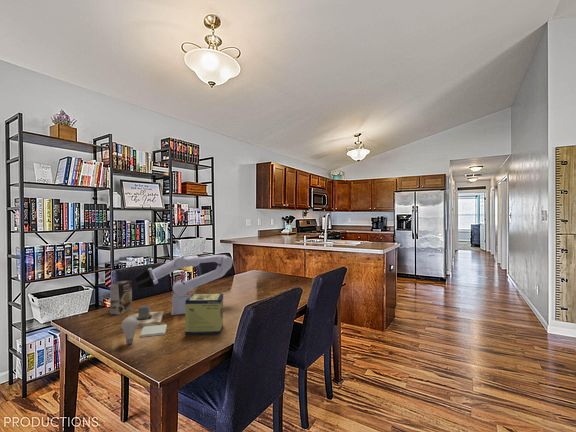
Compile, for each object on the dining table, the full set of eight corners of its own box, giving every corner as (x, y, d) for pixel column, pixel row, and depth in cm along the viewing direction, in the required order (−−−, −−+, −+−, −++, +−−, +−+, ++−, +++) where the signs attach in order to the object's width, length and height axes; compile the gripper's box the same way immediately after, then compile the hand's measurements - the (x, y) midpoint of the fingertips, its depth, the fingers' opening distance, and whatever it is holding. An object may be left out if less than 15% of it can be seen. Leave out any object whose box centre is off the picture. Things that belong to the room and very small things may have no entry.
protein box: (220, 334, 135) (220, 299, 135) (184, 335, 134) (184, 300, 134) (223, 325, 146) (223, 293, 146) (190, 326, 144) (190, 293, 144)
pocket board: (163, 314, 160) (163, 311, 160) (160, 325, 145) (160, 321, 145) (129, 317, 156) (129, 314, 156) (122, 329, 140) (122, 325, 140)
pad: (166, 326, 144) (166, 324, 144) (165, 334, 135) (165, 332, 135) (143, 328, 141) (143, 326, 141) (140, 337, 132) (140, 334, 132)
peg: (149, 319, 153) (149, 304, 153) (148, 322, 149) (148, 307, 149) (140, 320, 152) (139, 305, 152) (138, 323, 148) (138, 308, 148)
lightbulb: (125, 341, 128) (125, 314, 128) (140, 340, 128) (140, 314, 128) (118, 347, 122) (118, 319, 122) (134, 346, 122) (134, 319, 122)
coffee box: (120, 315, 160) (120, 284, 160) (109, 314, 161) (109, 283, 161) (132, 309, 169) (132, 280, 169) (122, 308, 170) (122, 279, 170)
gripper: (156, 259, 165) (131, 271, 159) (163, 270, 153) (135, 284, 148) (162, 269, 168) (136, 281, 162) (168, 281, 157) (141, 295, 151)
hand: (136, 283), depth 155 cm, fingers open, 7 cm apart
